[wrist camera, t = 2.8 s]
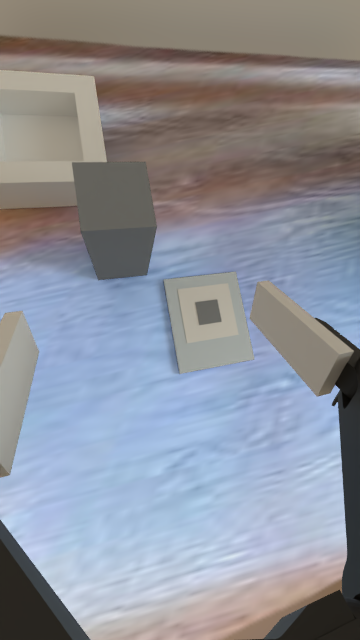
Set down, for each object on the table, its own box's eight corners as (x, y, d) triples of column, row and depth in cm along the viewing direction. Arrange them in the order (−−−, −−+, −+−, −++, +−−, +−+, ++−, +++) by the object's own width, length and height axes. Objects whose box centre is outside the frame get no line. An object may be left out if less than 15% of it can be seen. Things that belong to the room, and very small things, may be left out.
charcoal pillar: (139, 231, 34) (145, 161, 22) (146, 275, 33) (156, 226, 21) (92, 234, 32) (71, 162, 21) (98, 280, 31) (80, 231, 20)
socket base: (98, 111, 35) (93, 76, 31) (112, 204, 33) (109, 180, 29) (-17, 107, 32) (-40, 67, 28) (-9, 209, 30) (-32, 183, 26)
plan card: (234, 272, 35) (236, 271, 34) (252, 359, 34) (255, 359, 33) (163, 280, 33) (164, 279, 32) (179, 373, 31) (180, 373, 31)
